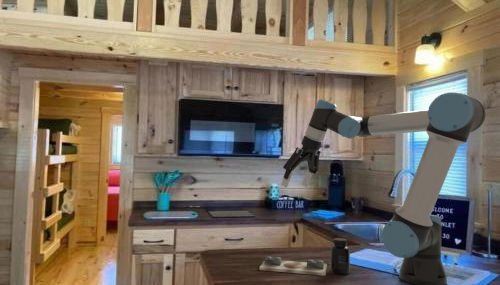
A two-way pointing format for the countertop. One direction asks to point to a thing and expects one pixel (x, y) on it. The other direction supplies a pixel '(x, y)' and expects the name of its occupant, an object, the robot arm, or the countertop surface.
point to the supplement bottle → (340, 257)
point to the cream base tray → (294, 266)
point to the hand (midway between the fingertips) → (294, 186)
